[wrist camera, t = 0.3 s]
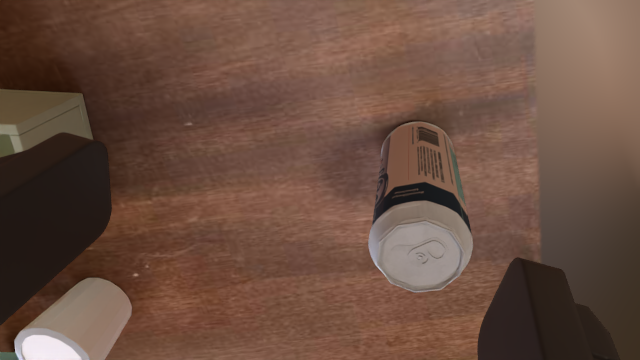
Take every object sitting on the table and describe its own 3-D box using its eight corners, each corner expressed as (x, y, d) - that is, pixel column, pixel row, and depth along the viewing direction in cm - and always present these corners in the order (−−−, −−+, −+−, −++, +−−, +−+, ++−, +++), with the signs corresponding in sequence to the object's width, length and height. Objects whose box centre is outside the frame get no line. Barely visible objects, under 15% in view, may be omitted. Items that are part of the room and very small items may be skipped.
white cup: (111, 339, 46) (64, 401, 40) (55, 293, 44) (-2, 350, 38) (152, 310, 43) (109, 372, 37) (94, 259, 41) (39, 315, 35)
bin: (-37, 86, 36) (-124, 115, 30) (82, 93, 34) (15, 124, 28) (3, 200, 40) (-65, 245, 34) (110, 210, 39) (57, 258, 33)
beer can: (368, 140, 32) (346, 239, 21) (431, 105, 30) (442, 194, 20) (403, 195, 33) (400, 313, 23) (466, 164, 32) (494, 277, 21)
